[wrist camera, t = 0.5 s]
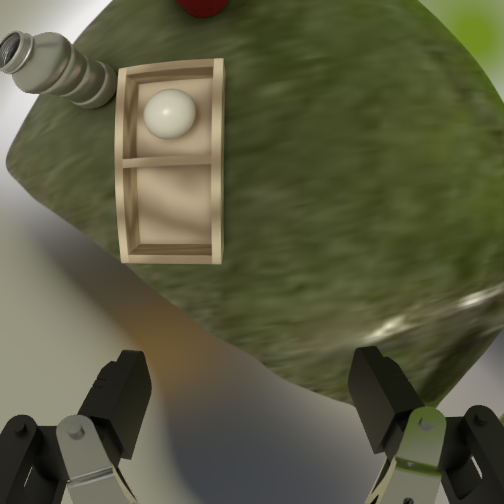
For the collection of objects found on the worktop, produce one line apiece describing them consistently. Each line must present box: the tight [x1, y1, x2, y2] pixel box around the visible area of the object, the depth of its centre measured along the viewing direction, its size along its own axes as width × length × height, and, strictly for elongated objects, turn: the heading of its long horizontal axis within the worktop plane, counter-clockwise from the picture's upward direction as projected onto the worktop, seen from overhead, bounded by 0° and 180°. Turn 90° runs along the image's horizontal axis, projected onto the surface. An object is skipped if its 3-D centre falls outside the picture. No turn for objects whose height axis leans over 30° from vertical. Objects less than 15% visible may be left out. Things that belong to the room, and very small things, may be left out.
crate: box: [115, 58, 226, 264], centre depth 32 cm, size 23×12×6 cm, turn 179°
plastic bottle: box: [0, 31, 118, 109], centre depth 22 cm, size 6×7×20 cm
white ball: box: [143, 89, 196, 139], centre depth 30 cm, size 6×6×6 cm
